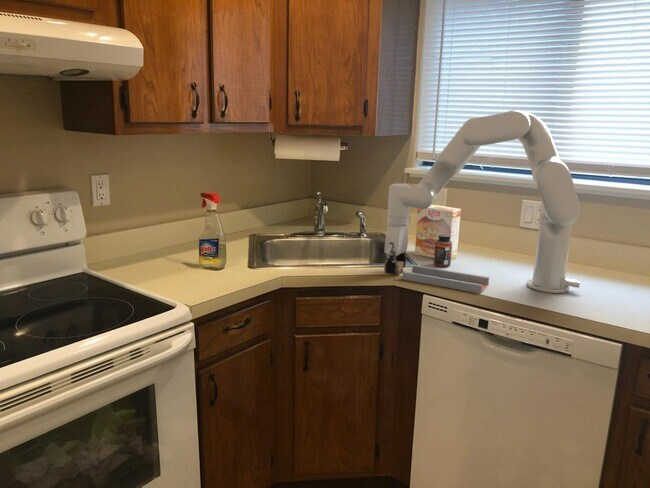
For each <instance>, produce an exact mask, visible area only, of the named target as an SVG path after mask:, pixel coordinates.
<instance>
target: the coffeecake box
mask: <svg viewBox="0 0 650 488" xmlns="http://www.w3.org/2000/svg"><path fill="white" fill-rule="evenodd" d="M461 212H462V208H457V207H450V206H443V205H439V204H438V205H436V204H432V205H431V206H430V207H428V208H425V209H419V208H417V218H416V230H415V243H414V244H415V246H414V248H415V249H414V255H416V256H423V257H426V258H431V259H434V257H435V244H436V241H437V240H439V235H440V234H446V235H450V241H451V242H452V252H451V261H452V260H456V259H457V258H458V257H457V256H458V249H459V247H458V245H459V236H460V234H459V233H460V225H461V214H462V213H461Z"/></svg>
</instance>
